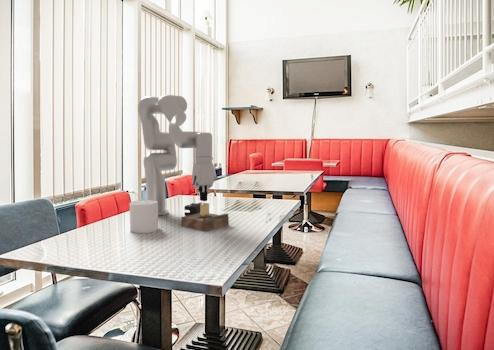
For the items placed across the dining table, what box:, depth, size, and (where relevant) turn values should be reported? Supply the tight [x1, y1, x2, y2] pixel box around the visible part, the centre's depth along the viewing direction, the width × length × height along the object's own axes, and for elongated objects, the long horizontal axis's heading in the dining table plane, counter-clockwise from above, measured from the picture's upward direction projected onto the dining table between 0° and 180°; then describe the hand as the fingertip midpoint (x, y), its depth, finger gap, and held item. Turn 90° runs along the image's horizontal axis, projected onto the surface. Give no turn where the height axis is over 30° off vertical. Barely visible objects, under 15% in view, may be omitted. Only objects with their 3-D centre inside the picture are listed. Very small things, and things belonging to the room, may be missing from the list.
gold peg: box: [200, 202, 210, 219], centre depth 172 cm, size 4×4×10 cm
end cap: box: [184, 201, 202, 216], centre depth 191 cm, size 10×7×7 cm
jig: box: [180, 212, 230, 232], centre depth 173 cm, size 16×14×5 cm
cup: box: [129, 199, 159, 234], centre depth 165 cm, size 12×12×12 cm
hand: (203, 200), depth 173 cm, fingers closed
